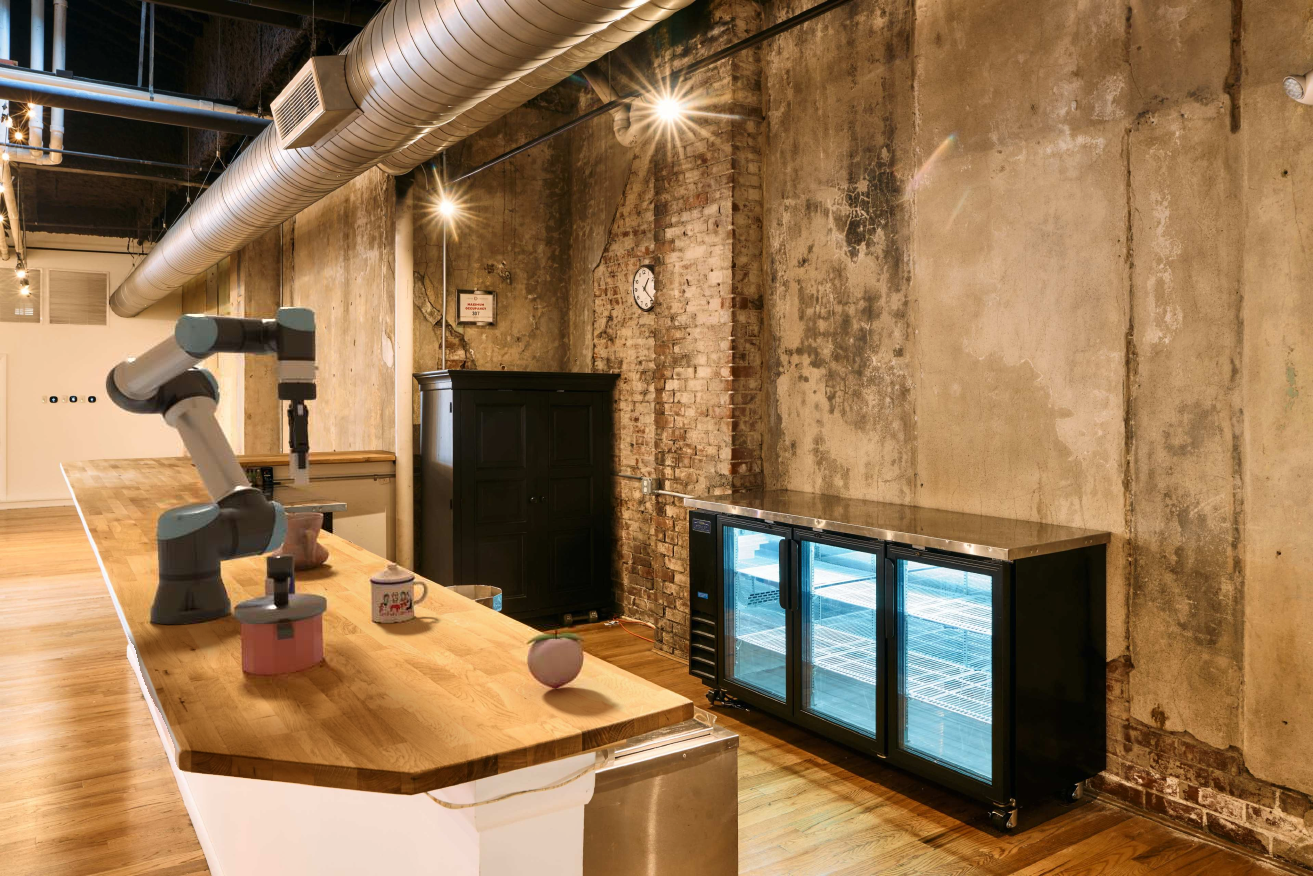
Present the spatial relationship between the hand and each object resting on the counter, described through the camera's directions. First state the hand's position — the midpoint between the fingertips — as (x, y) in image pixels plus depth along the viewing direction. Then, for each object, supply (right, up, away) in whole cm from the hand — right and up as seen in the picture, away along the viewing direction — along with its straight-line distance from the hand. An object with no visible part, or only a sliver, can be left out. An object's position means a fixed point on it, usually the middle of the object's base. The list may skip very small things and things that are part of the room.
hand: (299, 481), depth 181 cm
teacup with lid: (+21, -29, 0) cm, 36 cm away
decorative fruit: (+60, -32, -43) cm, 80 cm away
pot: (+10, -31, -30) cm, 44 cm away
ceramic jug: (-20, -26, +49) cm, 59 cm away
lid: (+10, -22, -30) cm, 38 cm away
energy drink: (+2, -30, -14) cm, 33 cm away
